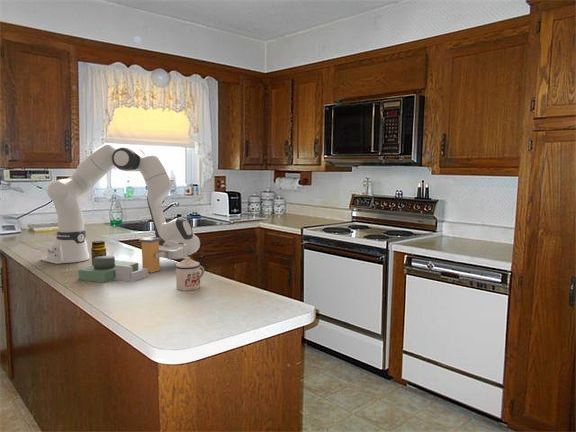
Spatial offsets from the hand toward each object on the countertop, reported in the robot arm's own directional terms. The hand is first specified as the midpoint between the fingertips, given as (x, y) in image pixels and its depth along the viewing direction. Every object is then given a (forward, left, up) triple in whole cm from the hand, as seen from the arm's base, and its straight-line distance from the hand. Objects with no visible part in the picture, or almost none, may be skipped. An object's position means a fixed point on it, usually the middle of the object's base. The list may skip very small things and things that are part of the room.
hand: (149, 255), depth 191 cm
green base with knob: (-7, -12, -7) cm, 15 cm away
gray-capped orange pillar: (0, +1, -7) cm, 7 cm away
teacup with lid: (+30, -12, -8) cm, 33 cm away
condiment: (-26, -4, -8) cm, 27 cm away
